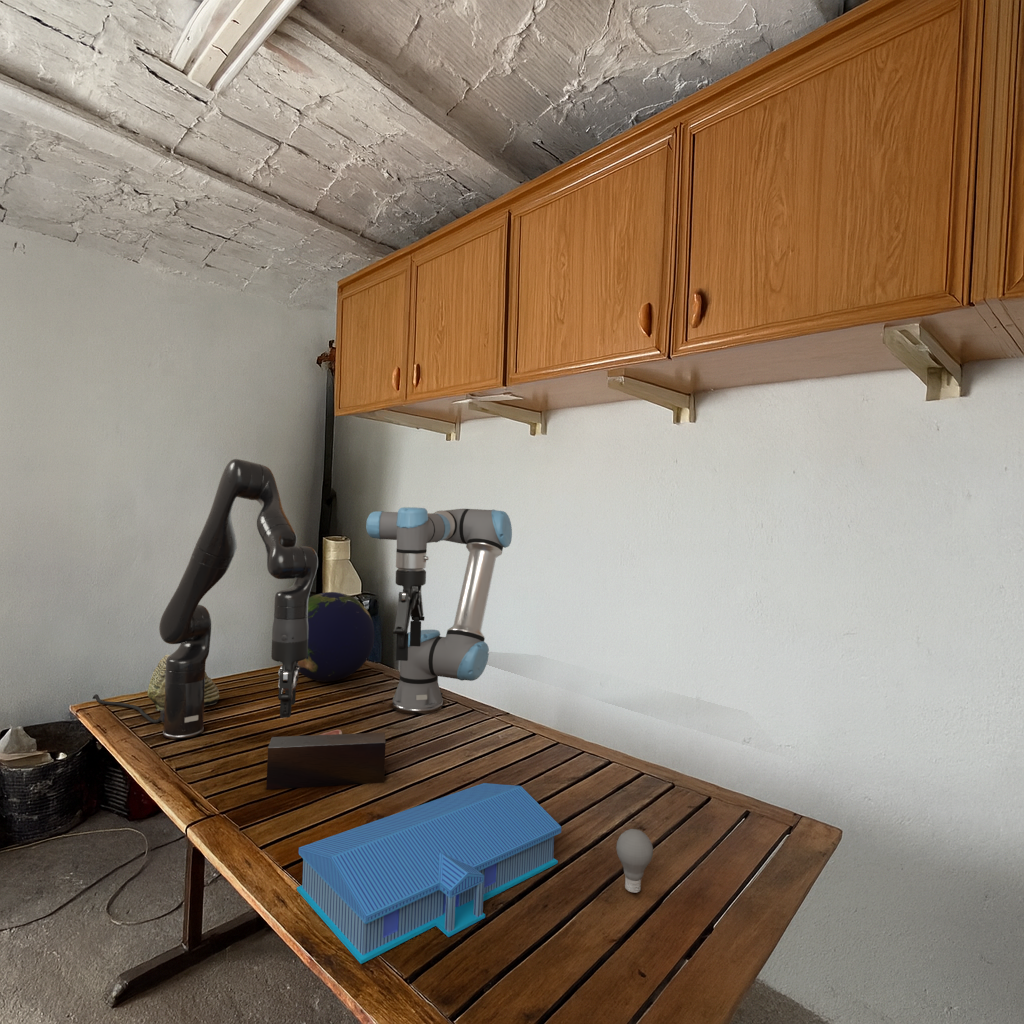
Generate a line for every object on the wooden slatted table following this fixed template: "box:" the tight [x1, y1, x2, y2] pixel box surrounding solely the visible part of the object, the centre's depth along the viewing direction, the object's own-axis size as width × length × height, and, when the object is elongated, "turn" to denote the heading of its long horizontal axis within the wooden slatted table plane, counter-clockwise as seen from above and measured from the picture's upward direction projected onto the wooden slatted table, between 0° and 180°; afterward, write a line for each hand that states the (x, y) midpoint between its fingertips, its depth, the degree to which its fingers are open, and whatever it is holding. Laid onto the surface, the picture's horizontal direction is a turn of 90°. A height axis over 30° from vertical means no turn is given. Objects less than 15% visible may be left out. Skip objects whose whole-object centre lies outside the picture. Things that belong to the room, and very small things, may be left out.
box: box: [265, 731, 387, 790], centre depth 142 cm, size 25×6×9 cm, turn 104°
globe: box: [298, 591, 375, 683], centre depth 216 cm, size 30×30×30 cm
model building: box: [296, 782, 562, 965], centre depth 106 cm, size 39×24×10 cm, turn 132°
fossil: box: [147, 654, 221, 712], centre depth 185 cm, size 9×18×15 cm, turn 132°
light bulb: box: [615, 828, 654, 894], centre depth 106 cm, size 6×6×10 cm
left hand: (287, 710), depth 139 cm, fingers open, 8 cm apart
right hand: (408, 652), depth 160 cm, fingers open, 13 cm apart
